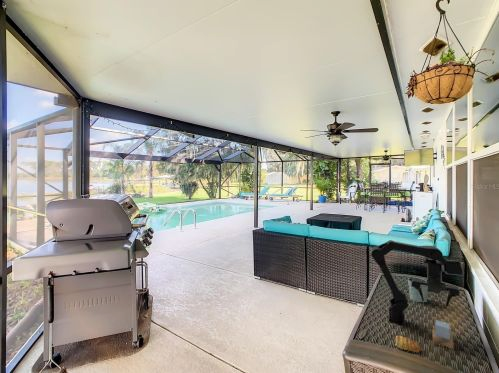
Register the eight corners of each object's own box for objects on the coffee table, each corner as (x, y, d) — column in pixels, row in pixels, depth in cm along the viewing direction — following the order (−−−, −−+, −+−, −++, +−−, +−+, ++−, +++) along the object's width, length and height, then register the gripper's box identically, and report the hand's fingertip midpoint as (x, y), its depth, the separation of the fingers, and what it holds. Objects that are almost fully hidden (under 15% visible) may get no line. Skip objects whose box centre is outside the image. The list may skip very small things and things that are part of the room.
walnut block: (433, 344, 110) (433, 336, 110) (432, 336, 116) (432, 328, 116) (453, 349, 106) (453, 341, 106) (451, 341, 112) (451, 333, 112)
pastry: (419, 347, 108) (419, 338, 108) (421, 356, 102) (421, 347, 102) (395, 340, 113) (395, 332, 113) (395, 349, 107) (395, 340, 107)
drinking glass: (432, 303, 145) (431, 283, 145) (414, 303, 146) (414, 283, 146) (420, 295, 156) (420, 277, 156) (404, 296, 156) (404, 277, 156)
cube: (435, 335, 110) (435, 324, 110) (436, 330, 114) (436, 319, 114) (449, 340, 107) (449, 328, 107) (449, 334, 111) (449, 323, 111)
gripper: (410, 273, 121) (410, 304, 121) (459, 282, 109) (460, 316, 109) (412, 267, 129) (412, 296, 130) (458, 274, 118) (459, 306, 118)
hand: (434, 303), depth 121 cm, fingers open, 9 cm apart
